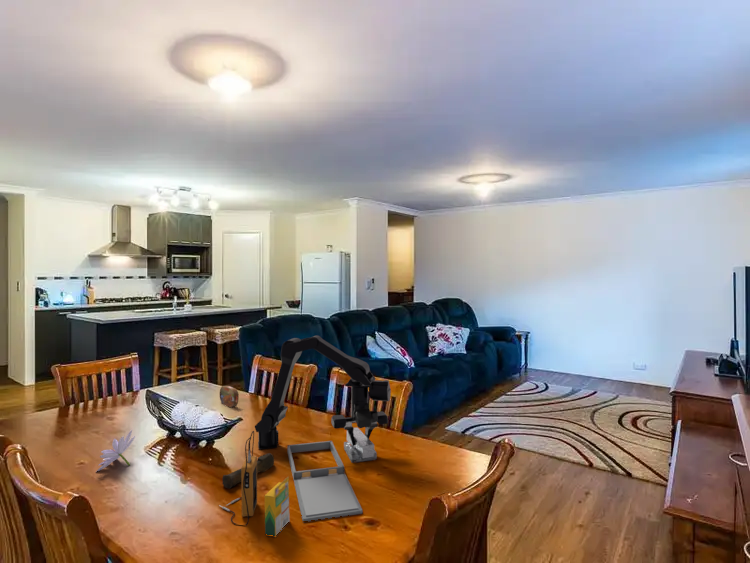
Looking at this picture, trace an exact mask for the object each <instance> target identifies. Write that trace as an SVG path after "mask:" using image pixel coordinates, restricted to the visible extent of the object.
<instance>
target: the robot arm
mask: <svg viewBox="0 0 750 563" xmlns="http://www.w3.org/2000/svg"><path fill="white" fill-rule="evenodd" d="M311 349H312V350H315V351H317V352H318V353H319V354H321V355H323V356H324V357H326V358H327V359H329V360H331V362H334V363H335V364H336V365H338V366H340V368H342V370H343V371H344V372H345V374H346V375H348V377H349V378H350V379H349V380H348V382H346V383H345V384H344V385H345V386H346V387H351V400H350V403H351V412H350V415H351V416H350V417H345V416H344V414H336V415H335V414H333V415H332V416H331V418H330V419H331V426H332V427H333V428H334V429H335V430H336V429H344V430H346V432H347V431H348V433H349V436H350V439H351V442H352V445H353V446H354V434H353V429H354V428H355V427H354V426H353V424H354V423H355V424H356V426H357V427H358V429H363V428H365V432H364V435H365V436H366V437H367V438H368V439H369V440H370V437H371V434H372V431H374V429H375V428H377V427H378V426H379V425H388V424H389V416H388V415H387V414H386V413H385V412H384V411H382V410H381V411H380V410H379V411H377V410H370V404H369V399H371V400H372V401H377V402H378V401H379V402H390V401H391V400H390V399H391V393H392V390H391V385H390V380H388V379H387V380H386V379H384V380H380V379H379V380H378V379H376V377H375V376H374V375H373V373H372V372H371V369H370V365H369V364H368V362H366V361H364V360H362V359H360V358H357V357H353V356H350V355H348V354H346V353H344V352H343V351H342V350H340V349H339V348H337V347H336V346H334V345H332V344H331V343H330V342H328V341H326V340H325V339H323V338H322V337H321V336H320V335H314V336H311V337H306V338H305V337H304V338H301V339H300V338H299V337H293V338H291V339H288V340H286V341H284V342H283V343H282V344H281V351H280V359H281V361H280V362H281V364H280V368H279V371H278V374H277V379H276V381H275V384H274V388H273V392H272V394H271V399H270V401H269V402H268V403H267V406H266V407H265V408H264V410H263V413H262V415H261V417H260V418H261V419H260V420H259V421H258V422H257V423H256V424H254V428H255V429H254V430H255V432H256V433H258V442H257V447H258V450H266V449H267V450H268V449H276V448H278V445H279V430H278V428H277V426H278V425H279V424H280V422H281V421H282V420H283V419H285V418H286V412H287V410H288V408H289V407H288V406H286V405H285V398H286V395H287V392H288V389H289V384H290V382H291V378H292V375H293V370H294V368H295V364H296V363H297V361H298V360H299V358H300V357H301V355H302V353H303V352H304V351H307V350H311ZM357 427H356V428H357ZM352 445H351V446H352Z"/></svg>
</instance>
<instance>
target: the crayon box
mask: <svg viewBox="0 0 750 563" xmlns="http://www.w3.org/2000/svg"><path fill="white" fill-rule="evenodd" d="M289 483H290V477H289V475H288V476H287V477H285V479H284V480H283V481H282V482H281V481H278V482H277V484H276V485H274V486H273V487H272V488H271V489H270V490H269V491H268V492H267V493H265V495H264V531H265V533H264V535H265V534H267V535H273V536H276V535H277V534H278V533H279V532H280V533H281V531H283V529H284V528H285V527H286V526H287V525H288V524H289V523H290V487H289V486H290V484H289ZM288 522H289V523H288ZM287 523H288V524H287ZM286 524H287V525H286ZM285 525H286V526H285ZM284 526H285V527H284ZM283 527H284V528H283ZM282 528H283V529H282ZM280 530H281V531H280ZM280 533H279V534H280ZM279 534H278V535H279ZM278 535H277V536H278ZM277 536H276V537H277Z"/></svg>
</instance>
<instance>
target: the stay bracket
mask: <svg viewBox="0 0 750 563" xmlns="http://www.w3.org/2000/svg"><path fill="white" fill-rule="evenodd" d="M343 449H344V451H345V453H346V455H347V457H348V459H349V461H350V463H360V462H370V461H377V460H378V459H377V458H378V457H377V455H378V454H377V451H376V450H375V449H374V457H368V458H362V457H361V456H360V455H359V454H358V452H357V451H356V450H355V449H354V448H353V447H352V445H351V444H350V443H349V442H348V441H344V442H343Z"/></svg>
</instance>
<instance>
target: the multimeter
mask: <svg viewBox="0 0 750 563" xmlns="http://www.w3.org/2000/svg"><path fill="white" fill-rule="evenodd" d="M251 439H252V448H251ZM254 441H255V431H254V430H253V431H251V434H250V437H248V439H246V442H245V444H244V447H245V448H244V450H245V452H244V453H245V459H244V462H243V463H242V466H241V468H240V469H241V497H238V498H237V497H236V499H233V500H231V501H230V502H229V503H228V504H226V506H229V505H230V504H234V503H235V502H237V501H239V500H241V517H247V522H246V524H245V525H246V526H248V524H249V521H250V517H253V516H254V514H255V510H256V507H257V504H258V473H257V460H258V456H256V455H253V454H254V444H255V442H254ZM247 443H248V444H247ZM247 445H248V453H247ZM218 506H219V507H221V508H222V510H225V511H227V512H231V513H232V514H233V515H232V516H231V517H230V521H231V523H232V522H233V523H234V524H233V523H232V524H233V525H235V524H237V523H235V522H234V521H233V518H234V516H235V514H236V513H235V512H234V511H233V510H231V509H230V508H227V507H225V506H222V505H220V504H219V505H218Z"/></svg>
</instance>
